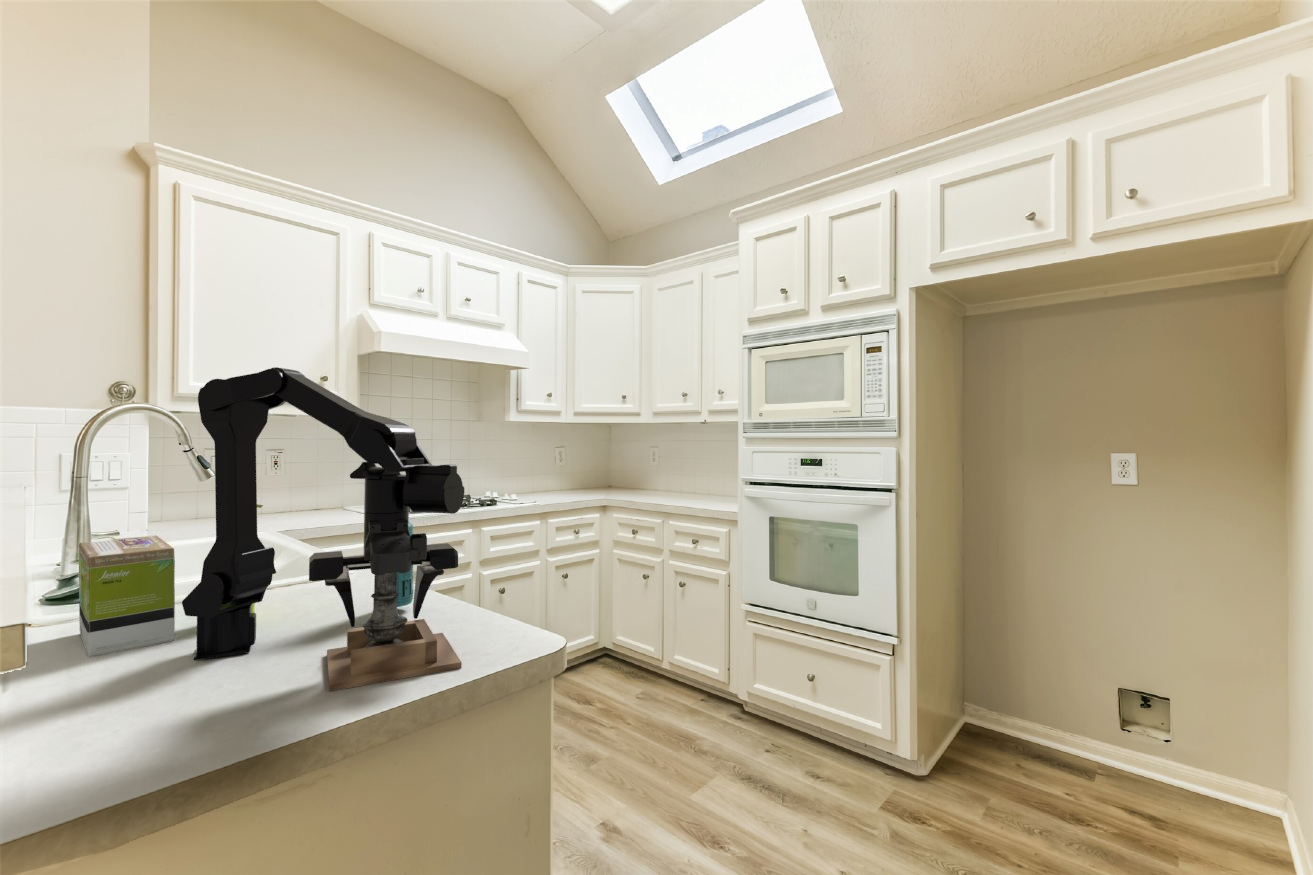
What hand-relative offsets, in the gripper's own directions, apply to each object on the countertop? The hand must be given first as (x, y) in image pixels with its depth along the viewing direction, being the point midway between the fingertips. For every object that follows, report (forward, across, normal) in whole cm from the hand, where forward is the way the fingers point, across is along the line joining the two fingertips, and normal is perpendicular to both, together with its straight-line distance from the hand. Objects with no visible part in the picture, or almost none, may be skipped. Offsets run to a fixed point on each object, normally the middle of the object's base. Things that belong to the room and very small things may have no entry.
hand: (384, 621), depth 83 cm
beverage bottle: (+6, +4, +26) cm, 27 cm away
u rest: (+6, +1, 0) cm, 6 cm away
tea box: (+6, -34, +30) cm, 46 cm away
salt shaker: (+4, 0, 0) cm, 4 cm away
